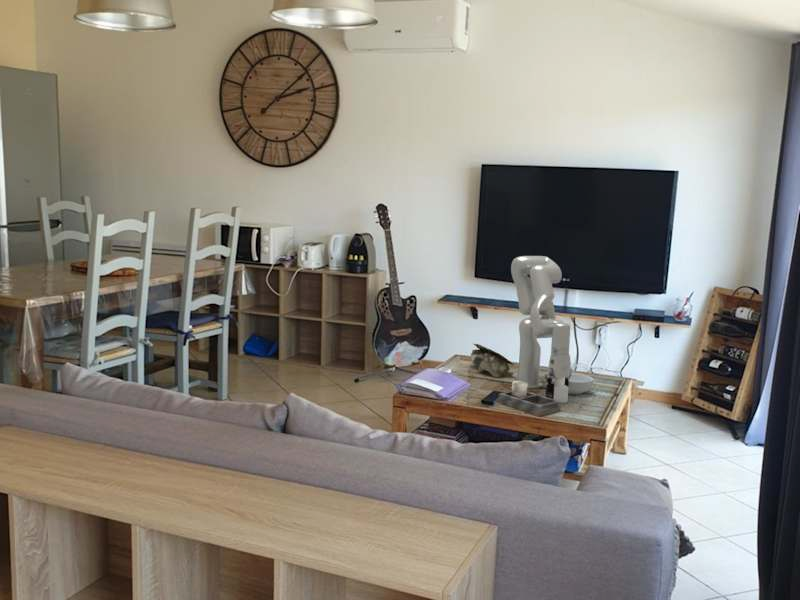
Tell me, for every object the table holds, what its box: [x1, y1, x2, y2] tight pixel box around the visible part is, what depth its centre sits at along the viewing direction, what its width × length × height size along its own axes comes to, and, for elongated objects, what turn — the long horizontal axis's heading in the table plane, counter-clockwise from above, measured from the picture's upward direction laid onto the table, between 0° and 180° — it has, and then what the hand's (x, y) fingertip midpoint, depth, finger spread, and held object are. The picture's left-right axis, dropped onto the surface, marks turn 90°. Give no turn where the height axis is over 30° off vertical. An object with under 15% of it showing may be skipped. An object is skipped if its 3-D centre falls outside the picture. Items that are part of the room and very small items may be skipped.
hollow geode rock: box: [470, 343, 515, 378], centre depth 392 cm, size 28×13×15 cm
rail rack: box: [498, 380, 562, 417], centre depth 336 cm, size 22×13×9 cm, turn 40°
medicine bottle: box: [545, 378, 569, 404], centre depth 346 cm, size 7×7×12 cm
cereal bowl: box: [568, 372, 594, 395], centre depth 361 cm, size 17×17×7 cm
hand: (557, 390), depth 345 cm, fingers open, 9 cm apart
